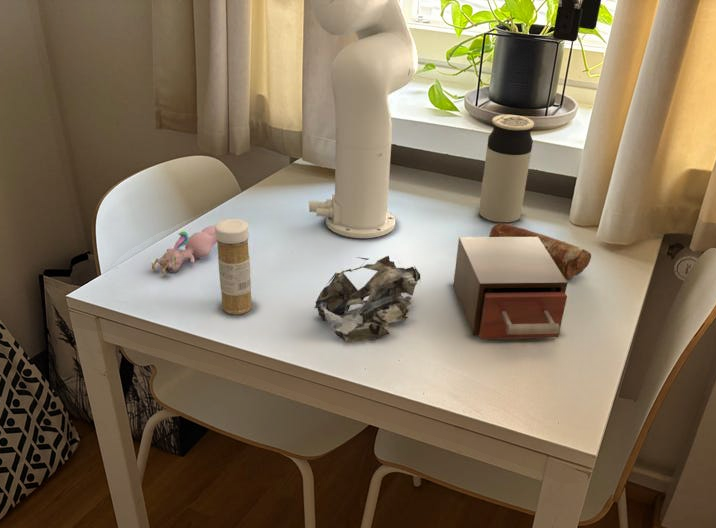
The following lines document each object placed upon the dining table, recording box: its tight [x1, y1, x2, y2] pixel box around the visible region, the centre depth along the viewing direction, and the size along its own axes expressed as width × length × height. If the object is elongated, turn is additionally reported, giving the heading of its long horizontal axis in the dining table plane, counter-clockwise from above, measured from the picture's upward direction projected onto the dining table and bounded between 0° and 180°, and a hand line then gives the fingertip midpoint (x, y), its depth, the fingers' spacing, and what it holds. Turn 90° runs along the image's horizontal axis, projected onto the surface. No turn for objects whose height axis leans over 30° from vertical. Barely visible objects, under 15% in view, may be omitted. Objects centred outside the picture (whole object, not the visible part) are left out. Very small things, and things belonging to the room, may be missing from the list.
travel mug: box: [478, 114, 535, 224], centre depth 141 cm, size 8×8×18 cm
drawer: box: [478, 288, 568, 340], centre depth 110 cm, size 18×11×7 cm, turn 7°
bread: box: [488, 222, 592, 280], centre depth 129 cm, size 6×19×6 cm, turn 41°
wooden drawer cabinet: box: [452, 236, 568, 337], centre depth 114 cm, size 15×13×9 cm
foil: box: [314, 255, 421, 343], centre depth 110 cm, size 12×11×15 cm
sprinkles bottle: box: [214, 218, 253, 316], centre depth 109 cm, size 5×5×14 cm
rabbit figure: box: [150, 225, 217, 276], centre depth 123 cm, size 6×6×15 cm
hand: (574, 33), depth 106 cm, fingers open, 9 cm apart
